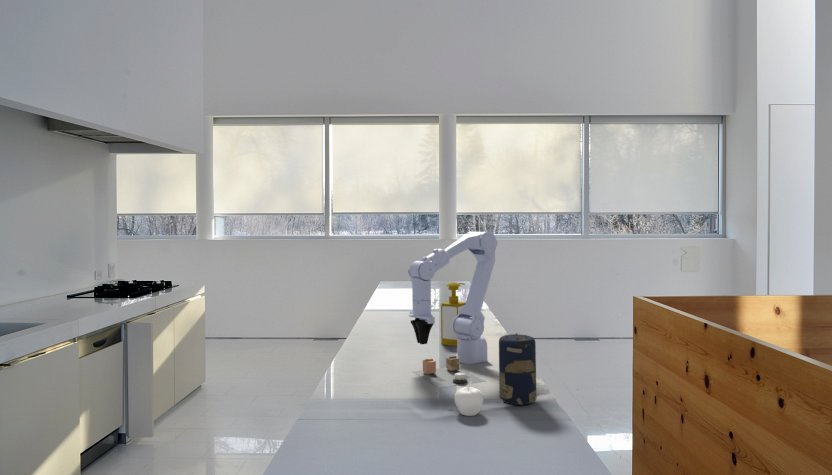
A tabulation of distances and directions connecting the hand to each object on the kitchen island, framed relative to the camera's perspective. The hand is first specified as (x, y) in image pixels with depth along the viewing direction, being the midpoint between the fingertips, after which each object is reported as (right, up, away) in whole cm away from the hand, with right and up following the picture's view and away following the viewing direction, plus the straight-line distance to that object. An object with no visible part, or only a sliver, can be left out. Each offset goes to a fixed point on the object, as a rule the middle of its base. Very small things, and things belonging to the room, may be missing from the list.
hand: (422, 343), depth 183 cm
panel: (+7, -10, -8) cm, 15 cm away
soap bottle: (+14, -8, +46) cm, 49 cm away
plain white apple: (+11, -11, -38) cm, 41 cm away
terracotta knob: (+2, -8, -4) cm, 10 cm away
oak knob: (+9, -8, -1) cm, 12 cm away
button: (+11, -9, -14) cm, 20 cm away
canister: (+25, -10, -29) cm, 39 cm away
